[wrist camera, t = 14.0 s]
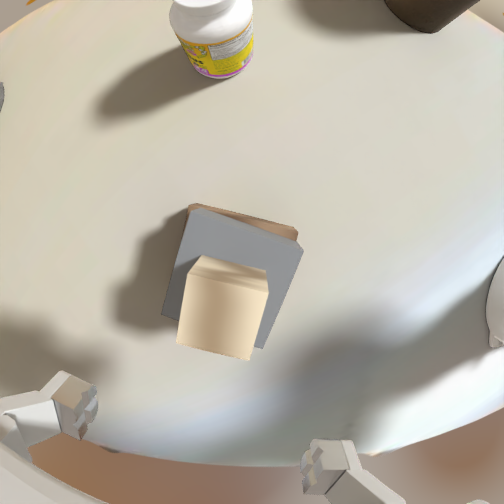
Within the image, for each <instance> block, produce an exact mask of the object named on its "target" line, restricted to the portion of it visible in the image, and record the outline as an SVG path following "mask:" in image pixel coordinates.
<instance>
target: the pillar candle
mask: <svg viewBox="0 0 504 504" xmlns="http://www.w3.org/2000/svg"><path fill="white" fill-rule="evenodd" d="M478 1H480V0H385V2H386V3H387V5H388V7H389V8H390V10H391V11H392V12H393V13H394V14H395V15H396V16H397V17H398V18H400V19H401V20H402V21H403V22H405V23H406V24H408V25H409V26H412V27H413V28H415V29H417V30H419V31H421V32H427V33H435V32H438V31H439V30H441V29H442V28H443V27H445V26H446V25H447V24H449V23H450V22H451V21H453V20H454V19H455V18H457V17H458V16H459V15H461V14H462V13H463V12H465V11H466V10H467V9H469V8H470V7H471V6H473V5H474V4H475V3H477V2H478Z"/></svg>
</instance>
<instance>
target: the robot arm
mask: <svg viewBox="0 0 504 504" xmlns="http://www.w3.org/2000/svg"><path fill="white" fill-rule="evenodd" d="M486 319H487V324H488V327H489V330H490V336H489V345H490V346H492V347H493V348H496V347H500V346H504V259H503V260H502V262H501V263H500V265H499V267H498V269H497V271H496V273H495V275H494V277H493V280H492V283H491V286H490V289H489V293H488V298H487V304H486ZM96 394H97V390H96V386H94V385H92V384H90V383H88V382H86V381H84V380H82V379H80V378H78V377H76V376H74V375H71V374H69V373H67V372H65V371H63V370H61V371H59V372H58V373H57V374H56V375H55V376H54V377H53V378H52V379H51V380H50V381H49V382H48V383H47V384H46V385H45V386H44V387H43V388H42V389H41V390H40V391H37V390H35V391H31V392H26V393H21V394H17V395H12V396H7V397H2V398H0V504H109V503H106V502H103V501H101V500H99V499H97V498H95V497H92V496H90V495H88V494H86V493H84V492H81V491H80V490H78V489H75V488H74V487H72V486H70V485H68V484H66V483H64V482H62V481H60V480H59V479H57V478H55V477H53V476H51V475H50V474H48V473H46V472H45V471H43V470H41V469H40V468H38V467H37V466H35V465H33V464H32V463H31V462H32V457H31V455H30V453H29V451H28V449H27V447H30V446H32V445H34V444H37V443H39V442H41V441H44V440H46V439H48V438H51V437H53V436H55V435H58V434H59V433H61V432H63V433H65V434H67V435H69V436H71V437H74V438H76V439H78V440H81V439H82V437H83V436H84V434H85V433H86V431H87V424H89V423H92V422H93V420H94V419H95V417H96V414H97V411H98V401H97V400H96V398H95V397H94V396H95V395H96ZM309 445H310V449H309V450H307V451H305V453H304V454H303V456H302V459H301V466H300V468H301V473H302V474H303V475H304V476H305V478H304V479H303V481H302V484H303V492H304V494H314V495H315V494H316V495H324V496H325V497H326V498H327V499H328V500H329V502H330V503H331V504H406V502H405V500H404V499H403V498H402V497H400V496H399V495H397V494H396V493H395V492H394V491H392V490H391V489H390V488H388V487H387V486H386V485H384V484H383V483H382V482H381V481H379V480H378V479H377V478H376V477H374V476H373V475H372V474H371V473H369V472H368V471H367V470H362V467H361V464H360V461H359V458H358V455H357V452H356V449H355V446H354V443H353V441H352V440H338V439H316V438H315V439H313V440H312V441H311V443H310V444H309ZM467 504H489V503H487V502H485V501H483V500H475V501H471V502H469V503H467Z"/></svg>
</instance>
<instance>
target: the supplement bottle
mask: <svg viewBox="0 0 504 504" xmlns="http://www.w3.org/2000/svg"><path fill="white" fill-rule="evenodd" d="M169 19H170V24H171V26H172V28H173V30H174V32H175V34H176V36H177V37H178V39H179V41H180V43H181V45H182V47H183V48H184V51H185V52H186V54H187V56H188V58H189V60H190V61H191V63H192V65H193V66H194V68H195V69H196V70H197V71H198V72H199V73H201V74H203V75H205V76H207V77H210V78H217V79H221V78H228V77H232V76H234V75H236V74H238V73H240V72H241V71H243V70H244V69H245V68H246V67H247V66H248V64H249V63H250V61H251V59H252V56H253V6H252V2H251V0H173V4H172V6H171V9H170V14H169Z"/></svg>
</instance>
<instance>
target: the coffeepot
mask: <svg viewBox="0 0 504 504" xmlns="http://www.w3.org/2000/svg"><path fill="white" fill-rule="evenodd" d="M3 101H4V87H3V83H2V82H0V111H1V108H2V105H3Z"/></svg>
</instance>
